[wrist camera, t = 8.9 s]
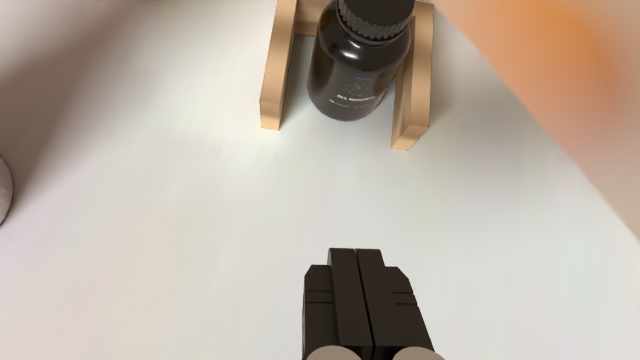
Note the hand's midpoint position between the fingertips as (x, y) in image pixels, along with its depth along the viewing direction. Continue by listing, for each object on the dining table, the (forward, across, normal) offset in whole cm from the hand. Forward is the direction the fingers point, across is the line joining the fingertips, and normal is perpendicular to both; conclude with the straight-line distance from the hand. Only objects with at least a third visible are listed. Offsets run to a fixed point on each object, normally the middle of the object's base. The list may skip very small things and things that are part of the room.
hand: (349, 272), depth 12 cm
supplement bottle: (+27, -2, +1) cm, 27 cm away
